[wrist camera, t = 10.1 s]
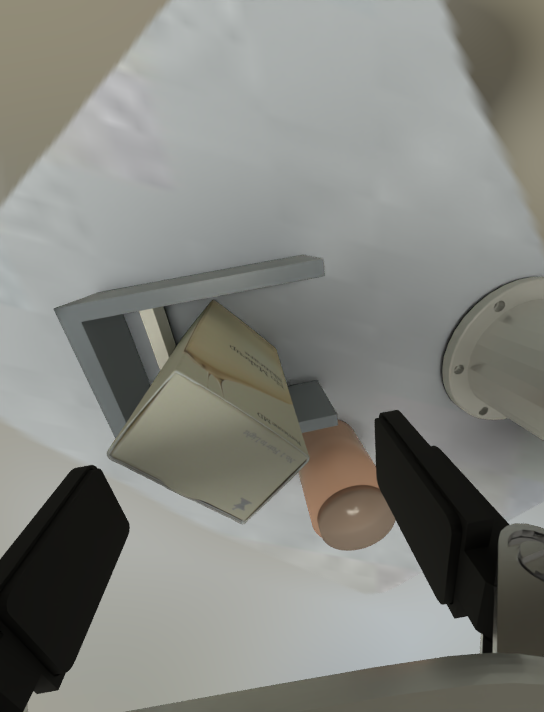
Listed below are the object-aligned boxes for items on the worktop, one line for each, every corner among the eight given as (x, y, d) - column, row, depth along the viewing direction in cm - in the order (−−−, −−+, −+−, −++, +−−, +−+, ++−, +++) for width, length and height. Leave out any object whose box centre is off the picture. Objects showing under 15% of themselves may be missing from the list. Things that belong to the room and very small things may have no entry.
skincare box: (277, 348, 22) (321, 459, 11) (241, 388, 23) (246, 530, 11) (210, 295, 20) (176, 364, 9) (173, 342, 21) (100, 460, 9)
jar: (354, 412, 25) (402, 481, 18) (357, 463, 27) (400, 543, 20) (288, 426, 25) (309, 502, 18) (297, 477, 27) (319, 562, 20)
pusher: (163, 300, 19) (132, 323, 13) (196, 404, 22) (183, 458, 17) (151, 302, 19) (116, 327, 13) (186, 406, 22) (169, 461, 17)
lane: (302, 254, 19) (323, 258, 15) (318, 389, 24) (338, 425, 19) (98, 292, 19) (53, 308, 14) (151, 424, 23) (130, 469, 18)
